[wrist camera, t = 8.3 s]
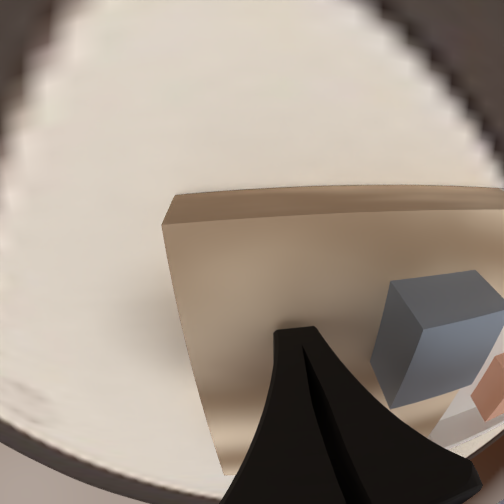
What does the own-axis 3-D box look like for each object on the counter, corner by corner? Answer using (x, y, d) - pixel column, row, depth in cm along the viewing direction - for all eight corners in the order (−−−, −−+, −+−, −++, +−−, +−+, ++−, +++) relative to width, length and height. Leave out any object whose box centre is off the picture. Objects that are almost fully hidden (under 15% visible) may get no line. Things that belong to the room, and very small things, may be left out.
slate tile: (446, 344, 12) (471, 384, 10) (369, 361, 12) (389, 409, 10) (475, 269, 10) (511, 307, 8) (390, 280, 10) (423, 329, 8)
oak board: (414, 413, 20) (425, 439, 17) (223, 444, 19) (224, 475, 17) (498, 188, 11) (534, 209, 9) (174, 195, 11) (161, 224, 9)
